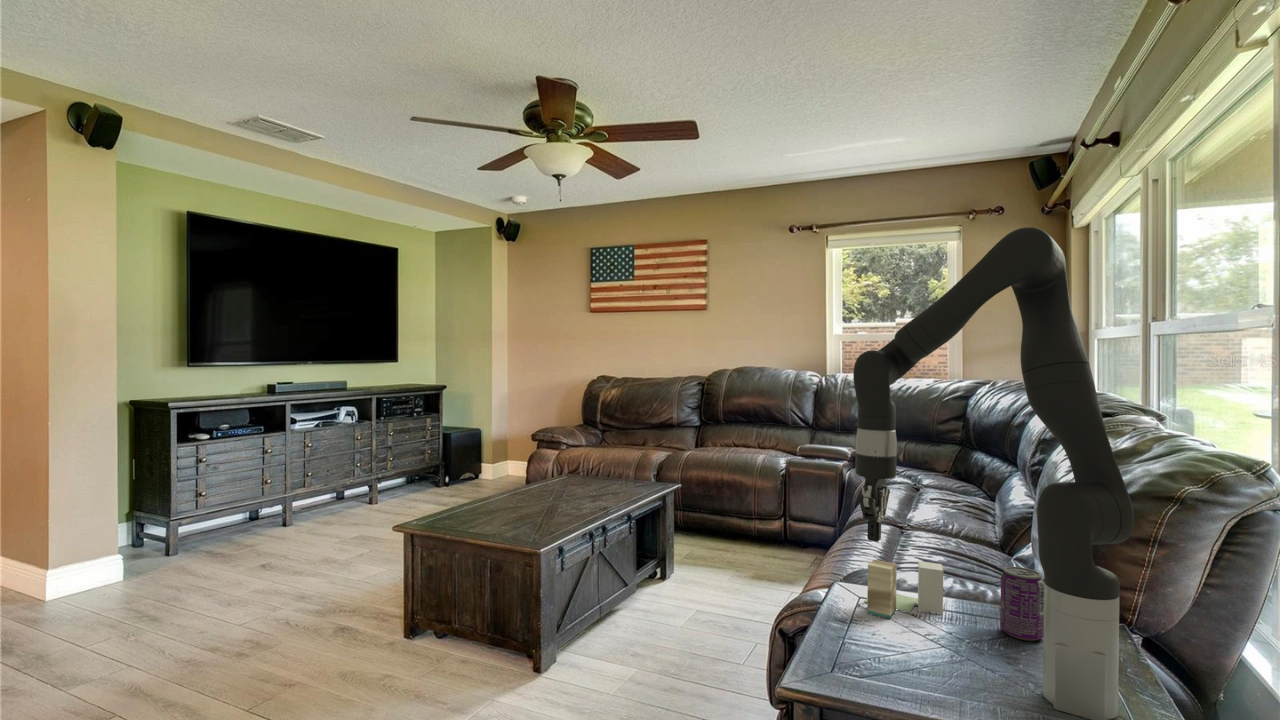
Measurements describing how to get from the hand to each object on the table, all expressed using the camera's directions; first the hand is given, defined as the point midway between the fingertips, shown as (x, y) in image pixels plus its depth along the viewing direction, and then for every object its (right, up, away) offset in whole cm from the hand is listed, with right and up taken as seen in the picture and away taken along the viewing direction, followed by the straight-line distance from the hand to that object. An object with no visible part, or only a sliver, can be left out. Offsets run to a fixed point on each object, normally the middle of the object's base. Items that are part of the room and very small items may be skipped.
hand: (874, 540), depth 120 cm
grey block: (+15, -17, +8) cm, 24 cm away
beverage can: (+26, -17, -4) cm, 32 cm away
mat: (+8, -17, +12) cm, 22 cm away
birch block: (+4, -17, +5) cm, 18 cm away
